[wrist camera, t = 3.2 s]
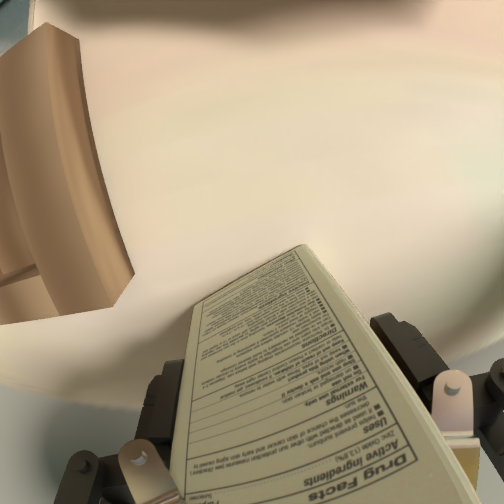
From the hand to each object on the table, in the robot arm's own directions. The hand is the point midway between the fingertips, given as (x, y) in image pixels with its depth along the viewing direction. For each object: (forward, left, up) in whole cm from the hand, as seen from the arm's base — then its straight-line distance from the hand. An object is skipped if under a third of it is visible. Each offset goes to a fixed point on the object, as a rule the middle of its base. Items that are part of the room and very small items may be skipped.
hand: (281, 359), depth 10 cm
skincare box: (0, 0, -4) cm, 4 cm away
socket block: (+12, -9, -4) cm, 15 cm away
